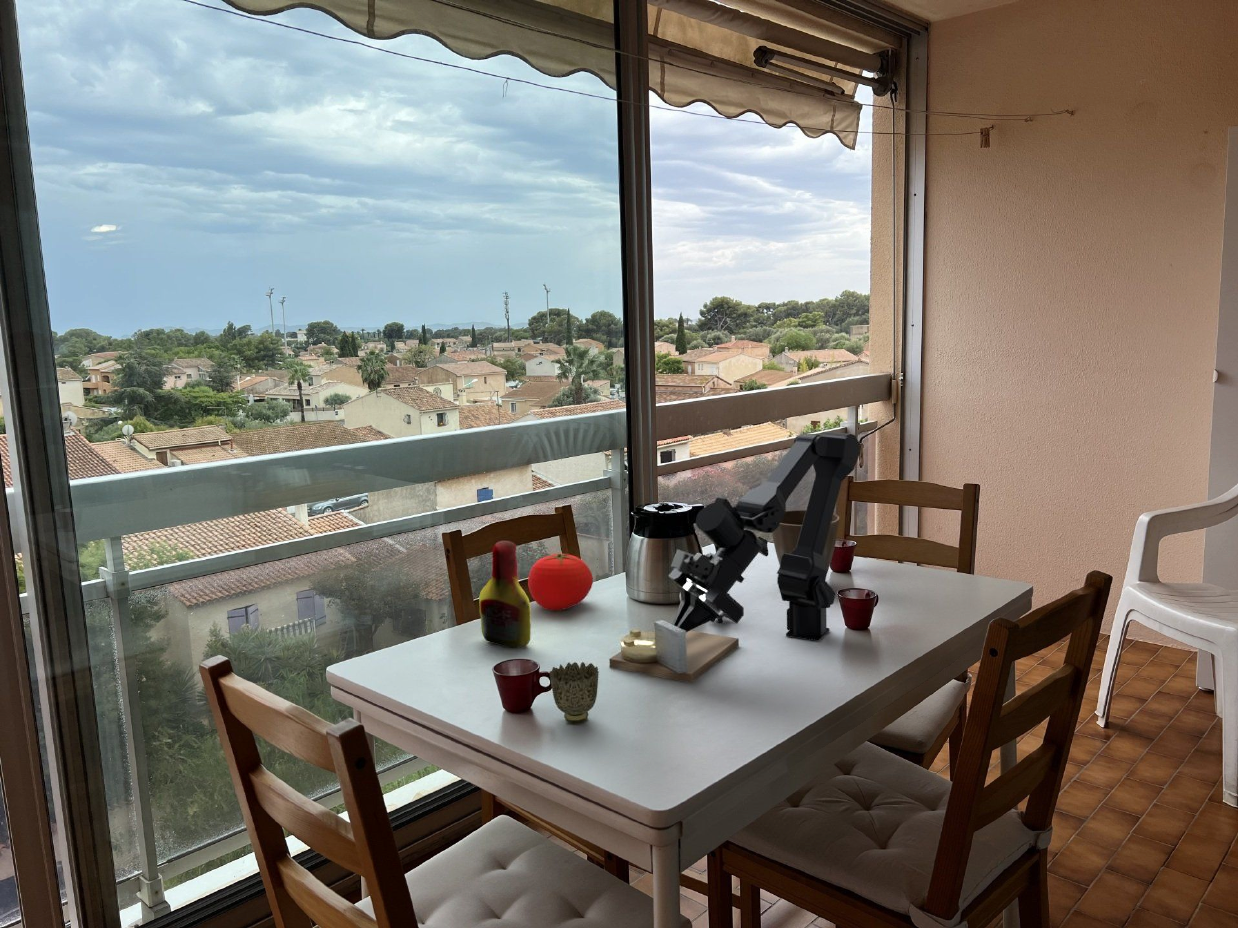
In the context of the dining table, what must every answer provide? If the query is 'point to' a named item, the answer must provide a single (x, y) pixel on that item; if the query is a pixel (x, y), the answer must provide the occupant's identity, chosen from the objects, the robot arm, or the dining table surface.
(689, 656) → the walnut base
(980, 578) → the dining table surface
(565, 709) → the cup
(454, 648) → the dining table surface
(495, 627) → the bottle
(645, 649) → the ring nut spanner
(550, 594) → the tomato
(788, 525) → the plant pot
